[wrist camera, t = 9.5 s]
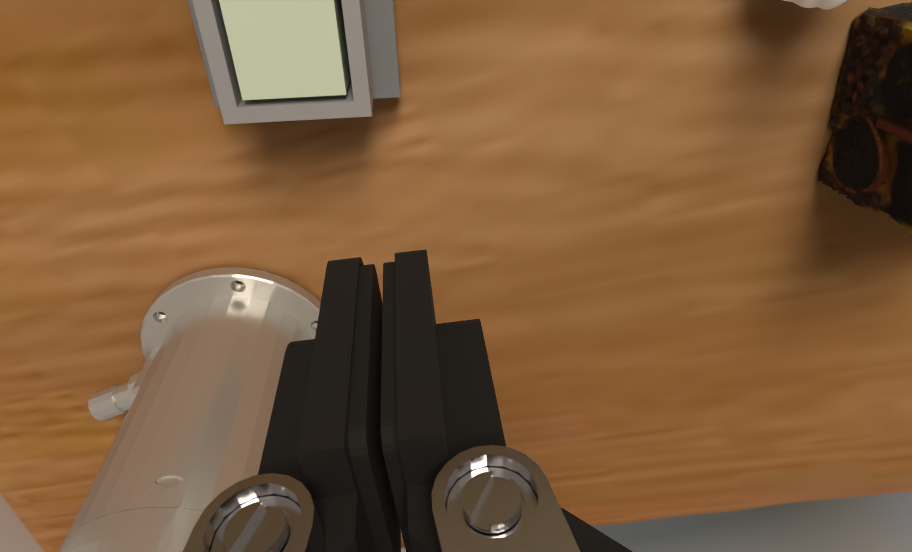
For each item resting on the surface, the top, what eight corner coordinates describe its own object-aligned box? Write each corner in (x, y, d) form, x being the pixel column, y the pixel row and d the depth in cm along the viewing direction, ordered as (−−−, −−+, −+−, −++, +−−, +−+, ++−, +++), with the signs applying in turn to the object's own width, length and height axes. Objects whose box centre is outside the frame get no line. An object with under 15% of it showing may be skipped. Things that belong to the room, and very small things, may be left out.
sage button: (350, 75, 27) (346, 94, 25) (256, 79, 27) (242, 100, 25) (337, -29, 25) (331, -19, 22) (233, -25, 25) (215, -14, 22)
